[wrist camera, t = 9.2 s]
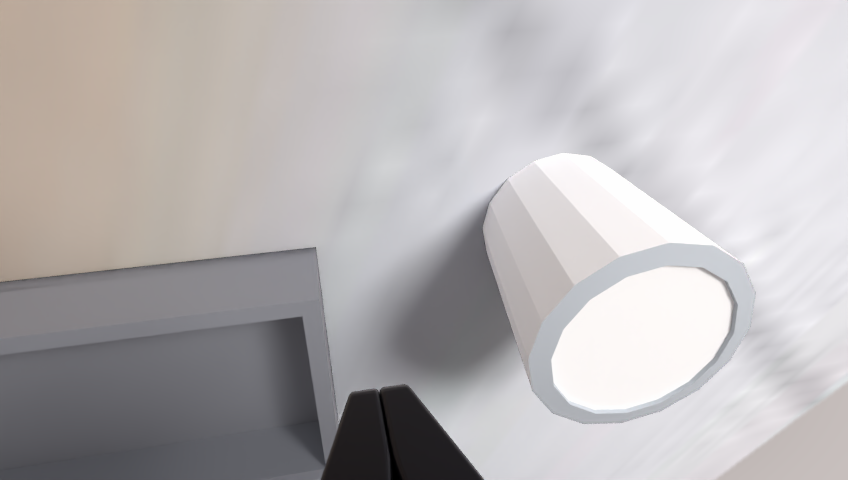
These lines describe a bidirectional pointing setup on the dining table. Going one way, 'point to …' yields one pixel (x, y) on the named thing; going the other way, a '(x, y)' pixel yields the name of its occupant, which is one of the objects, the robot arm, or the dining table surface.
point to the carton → (168, 372)
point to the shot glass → (610, 291)
